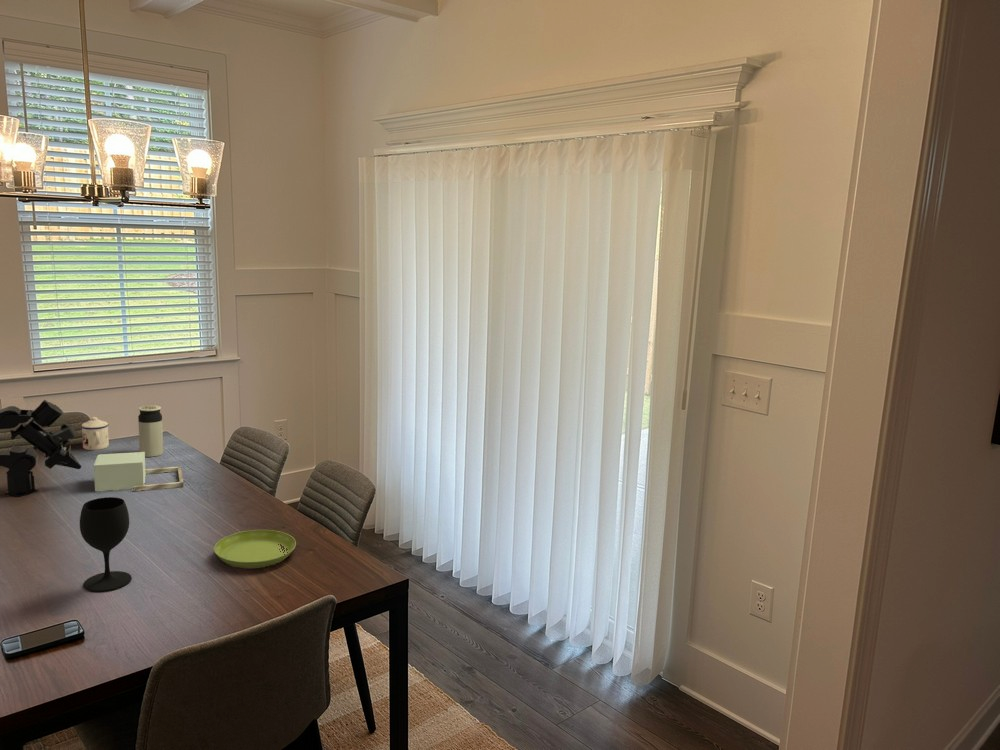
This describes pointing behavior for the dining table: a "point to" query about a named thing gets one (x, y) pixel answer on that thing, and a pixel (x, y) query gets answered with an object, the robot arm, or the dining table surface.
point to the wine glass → (105, 538)
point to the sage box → (119, 471)
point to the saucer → (254, 548)
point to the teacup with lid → (95, 434)
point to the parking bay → (164, 485)
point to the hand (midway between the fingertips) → (80, 467)
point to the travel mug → (150, 430)
